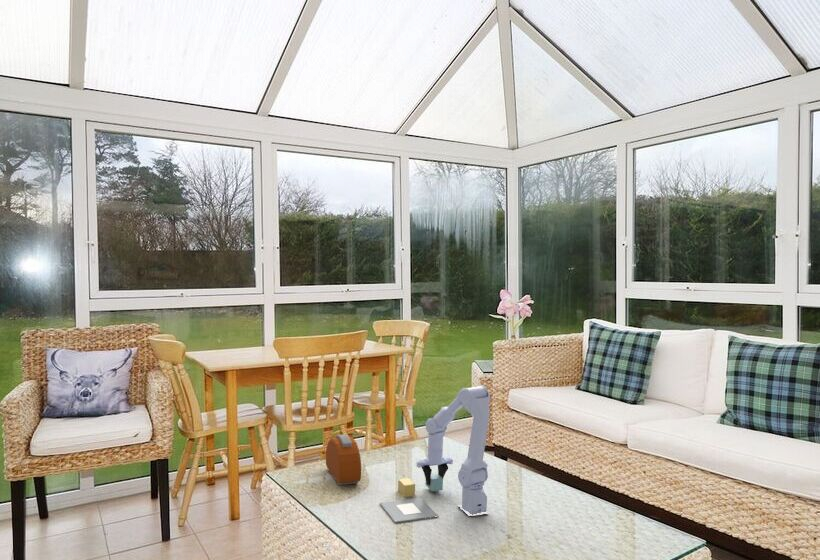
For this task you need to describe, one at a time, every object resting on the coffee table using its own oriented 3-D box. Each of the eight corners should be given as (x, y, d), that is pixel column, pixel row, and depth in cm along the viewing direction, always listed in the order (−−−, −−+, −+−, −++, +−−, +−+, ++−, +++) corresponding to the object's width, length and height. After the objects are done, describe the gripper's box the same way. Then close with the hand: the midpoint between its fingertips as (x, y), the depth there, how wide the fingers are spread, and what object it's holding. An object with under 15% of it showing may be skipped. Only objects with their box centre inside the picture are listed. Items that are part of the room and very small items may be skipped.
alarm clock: (361, 486, 223) (362, 443, 222) (338, 488, 219) (340, 445, 219) (345, 465, 244) (346, 427, 244) (324, 468, 241) (326, 428, 241)
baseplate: (438, 517, 197) (438, 515, 197) (394, 523, 191) (395, 521, 191) (420, 499, 212) (420, 497, 212) (379, 504, 206) (379, 502, 206)
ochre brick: (414, 495, 215) (415, 484, 215) (404, 497, 214) (404, 485, 213) (408, 489, 221) (409, 478, 221) (398, 490, 219) (398, 479, 219)
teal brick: (442, 489, 218) (443, 478, 218) (432, 491, 217) (432, 479, 216) (435, 483, 224) (436, 472, 224) (425, 485, 223) (425, 473, 222)
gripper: (447, 444, 226) (446, 478, 227) (414, 447, 221) (412, 482, 221) (455, 449, 220) (454, 484, 220) (421, 453, 215) (419, 488, 215)
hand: (434, 483), depth 220 cm, fingers closed on teal brick, 4 cm apart
